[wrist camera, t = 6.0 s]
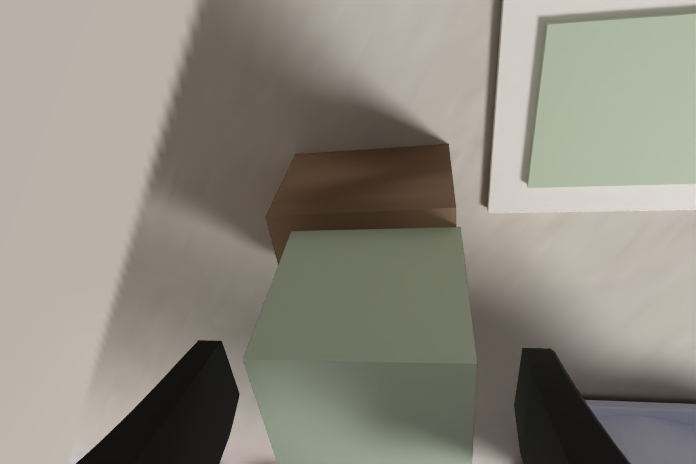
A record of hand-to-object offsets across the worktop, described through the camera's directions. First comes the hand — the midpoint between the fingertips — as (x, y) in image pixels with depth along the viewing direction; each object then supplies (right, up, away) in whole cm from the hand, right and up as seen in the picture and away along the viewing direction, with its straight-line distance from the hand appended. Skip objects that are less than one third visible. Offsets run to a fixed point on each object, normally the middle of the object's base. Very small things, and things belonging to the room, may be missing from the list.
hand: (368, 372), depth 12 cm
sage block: (0, +2, +2) cm, 3 cm away
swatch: (+7, +7, +2) cm, 10 cm away
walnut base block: (+1, +4, +5) cm, 7 cm away
